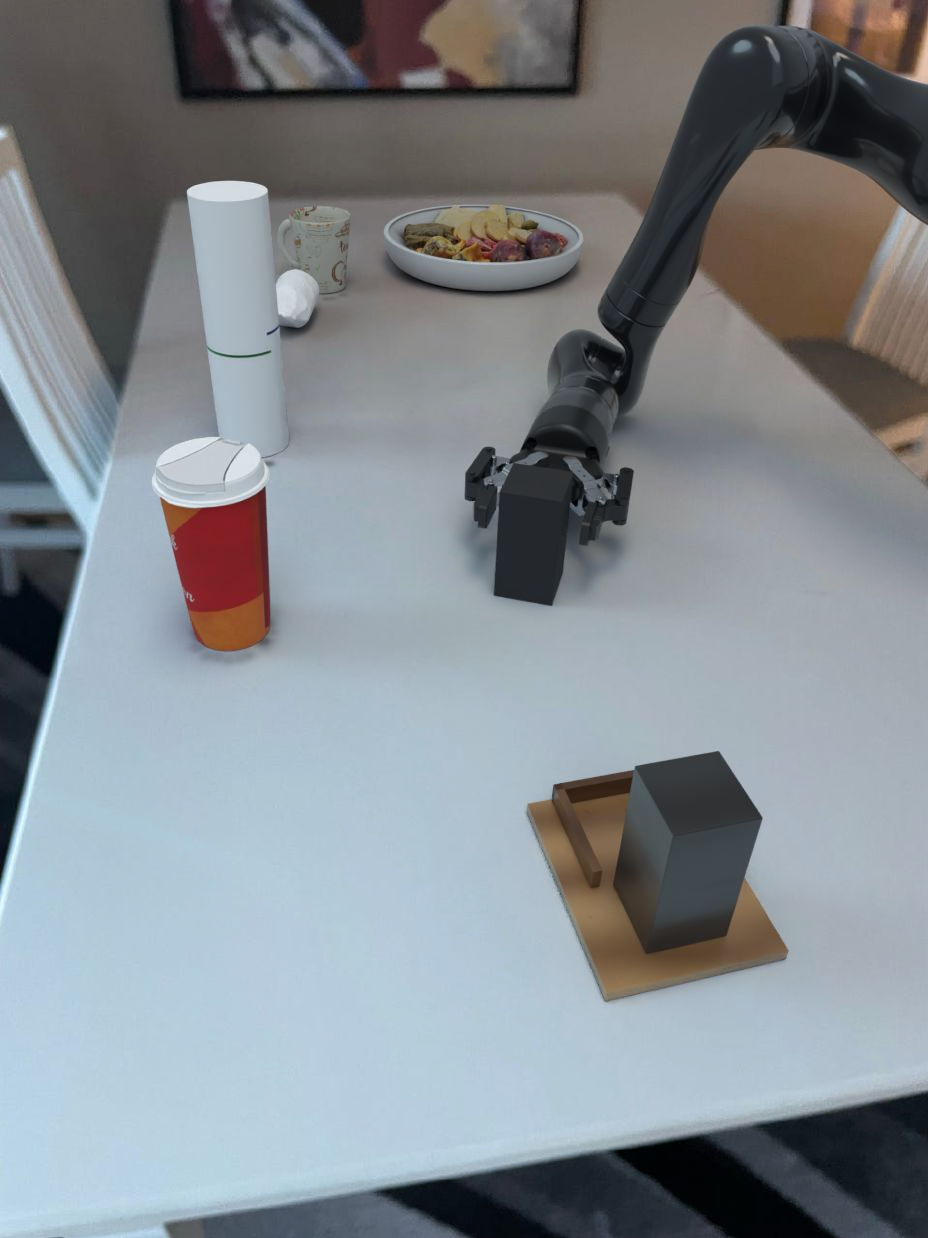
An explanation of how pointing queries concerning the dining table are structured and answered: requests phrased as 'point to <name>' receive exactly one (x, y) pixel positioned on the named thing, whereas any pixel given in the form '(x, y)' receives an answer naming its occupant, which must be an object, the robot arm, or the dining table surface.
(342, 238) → the mug
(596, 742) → the dining table surface
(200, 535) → the coffee cup
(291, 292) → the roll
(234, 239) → the cylindrical container
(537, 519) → the black rectangular block
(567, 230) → the bowl
